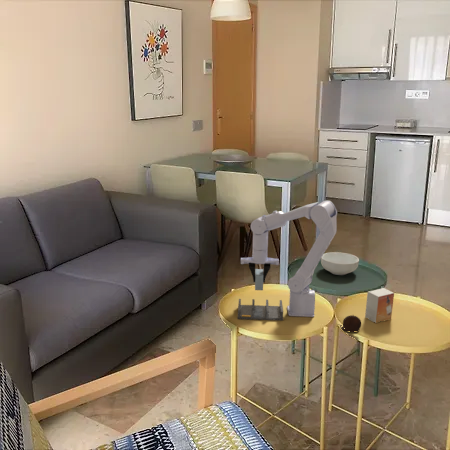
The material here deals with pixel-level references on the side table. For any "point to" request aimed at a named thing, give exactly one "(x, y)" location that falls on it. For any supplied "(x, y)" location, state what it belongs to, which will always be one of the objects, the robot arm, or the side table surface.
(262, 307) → the rack
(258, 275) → the light grey rectangular block
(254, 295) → the side table surface
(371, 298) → the small box
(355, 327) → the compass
